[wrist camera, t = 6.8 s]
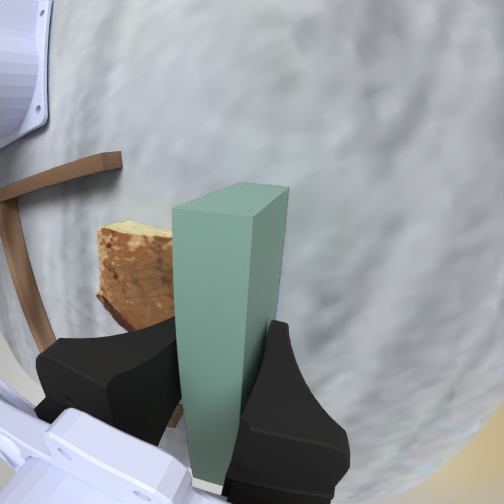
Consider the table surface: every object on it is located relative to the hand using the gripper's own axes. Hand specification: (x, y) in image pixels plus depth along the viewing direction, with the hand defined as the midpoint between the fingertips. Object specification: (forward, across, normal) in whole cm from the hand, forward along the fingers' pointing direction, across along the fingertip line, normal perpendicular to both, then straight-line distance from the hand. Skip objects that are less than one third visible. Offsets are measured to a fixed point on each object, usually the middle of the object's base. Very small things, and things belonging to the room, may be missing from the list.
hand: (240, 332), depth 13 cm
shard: (+3, +3, +1) cm, 4 cm away
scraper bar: (+2, 0, 0) cm, 2 cm away
